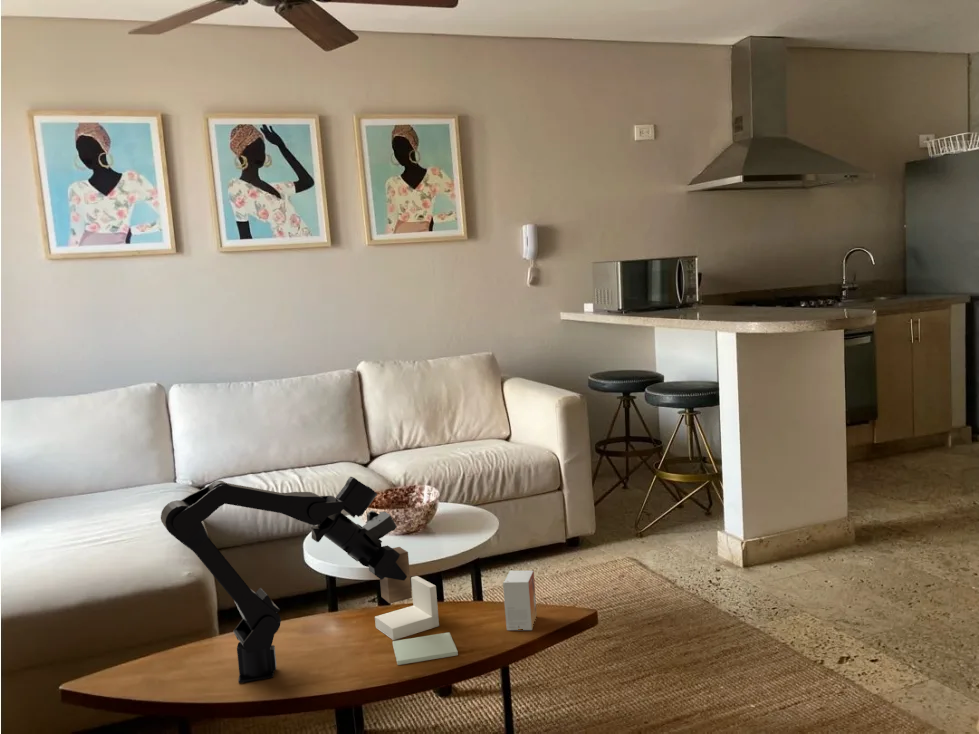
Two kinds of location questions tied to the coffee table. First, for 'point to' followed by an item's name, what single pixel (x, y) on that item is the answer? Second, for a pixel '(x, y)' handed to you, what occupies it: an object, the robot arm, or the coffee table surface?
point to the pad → (424, 648)
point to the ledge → (412, 613)
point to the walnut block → (397, 581)
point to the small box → (520, 600)
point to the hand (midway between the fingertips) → (400, 575)
